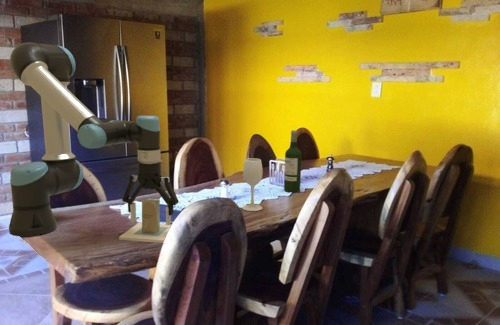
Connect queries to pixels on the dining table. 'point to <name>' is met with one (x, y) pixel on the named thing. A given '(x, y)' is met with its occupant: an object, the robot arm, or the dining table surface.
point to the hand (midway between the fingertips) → (150, 222)
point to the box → (150, 215)
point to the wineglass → (252, 179)
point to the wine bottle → (292, 166)
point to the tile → (145, 234)
